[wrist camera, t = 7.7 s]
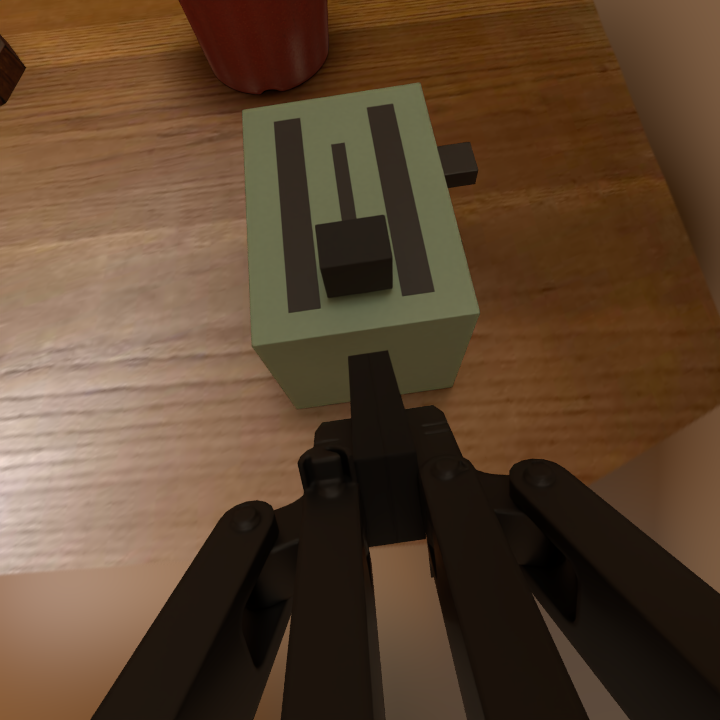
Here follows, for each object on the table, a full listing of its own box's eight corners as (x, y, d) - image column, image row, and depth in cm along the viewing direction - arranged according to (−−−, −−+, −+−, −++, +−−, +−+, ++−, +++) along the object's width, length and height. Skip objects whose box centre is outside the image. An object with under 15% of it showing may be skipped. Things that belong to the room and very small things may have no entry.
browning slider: (393, 289, 22) (392, 257, 20) (327, 298, 22) (319, 268, 20) (385, 248, 23) (384, 213, 21) (322, 257, 23) (314, 224, 21)
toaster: (492, 381, 32) (539, 304, 21) (296, 409, 32) (251, 346, 22) (446, 201, 38) (466, 74, 28) (282, 226, 38) (241, 108, 28)
